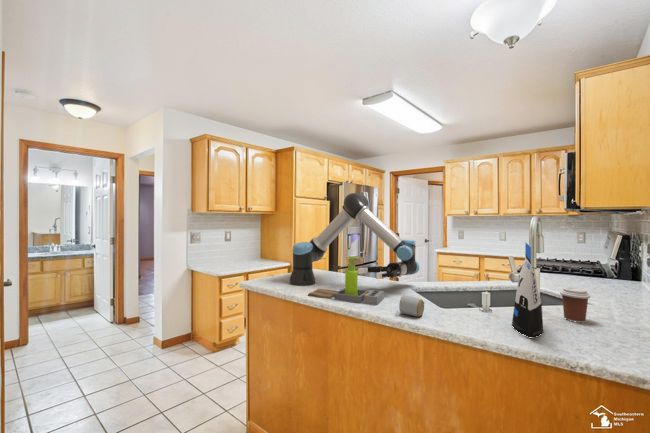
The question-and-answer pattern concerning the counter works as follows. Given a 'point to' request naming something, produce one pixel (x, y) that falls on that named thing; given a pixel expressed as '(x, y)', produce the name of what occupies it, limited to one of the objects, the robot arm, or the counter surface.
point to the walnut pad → (323, 293)
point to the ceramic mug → (411, 305)
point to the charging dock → (361, 296)
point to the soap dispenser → (351, 278)
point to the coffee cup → (575, 303)
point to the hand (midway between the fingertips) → (366, 273)
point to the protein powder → (527, 301)
